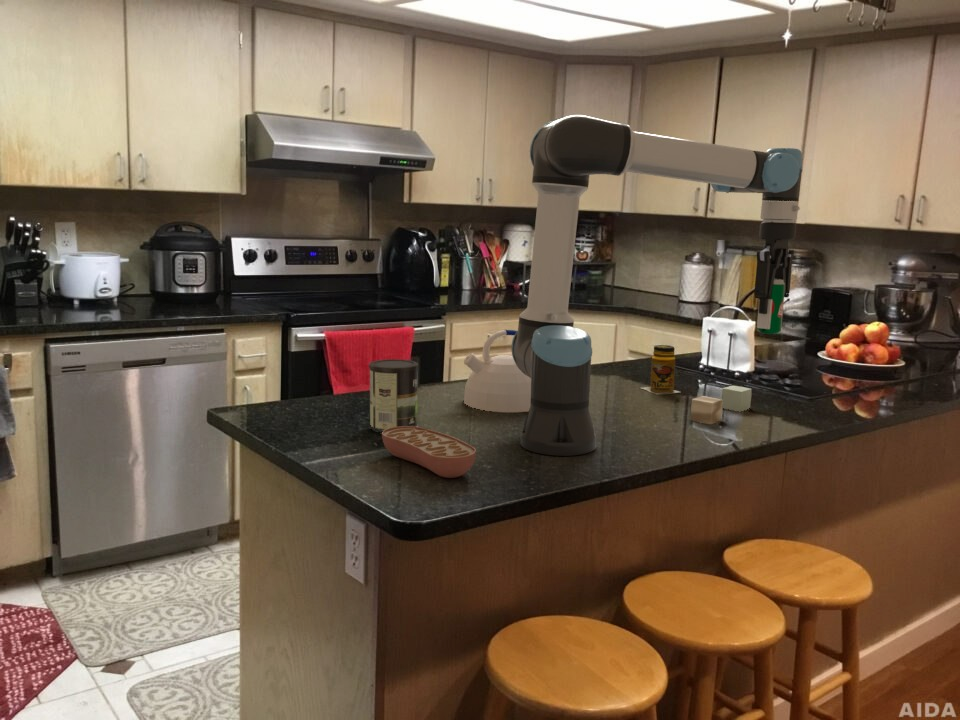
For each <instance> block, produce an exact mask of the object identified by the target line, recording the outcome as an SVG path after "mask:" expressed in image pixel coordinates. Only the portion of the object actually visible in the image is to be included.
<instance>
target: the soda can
mask: <svg viewBox="0 0 960 720" xmlns="http://www.w3.org/2000/svg"><path fill="white" fill-rule="evenodd" d="M784 293H785V283H784V279H778V278H774V283H773V288H772V293H771V298H770V299H772V311H771V322H770V329H762V328H757V327H756V328H757V329H756V330H757V331H758V332H759V333H760V334H765V335H766V334H767V335H778V334H780V333H781V331H782V327H781V326H782V325H783V324H782V323H783V316H782V315H783V314H784V305H783V304H785V303H784V302H785V297H784Z"/></svg>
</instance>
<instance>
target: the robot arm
mask: <svg viewBox="0 0 960 720" xmlns="http://www.w3.org/2000/svg"><path fill="white" fill-rule="evenodd" d="M529 158H530V160H531V165H532V166H533V168H532V180H531V185H532V186H533V188H534V189H535V191H536V192H537V194H538V195H537V204H536V213H535V214H536V216H535V224H534V236H533V245H532V246H533V247H532V257H531V265H530V275H529V276H530V278H529V284H528V286H529V289H528V295H527V297H528V298H527V307H526V308H525V309H524V310H522V312H521V313H520V314H519V318H518V326H517V330H516V331H517V332H516V334H515V335H513V338H512V341H511V348H510V349H511V355H512V356H513V359H514V361H515V363H516V365H517V367H518V368H519V369H520V370H521V371H522V372H523V373H524V374H525V375H527V376H528V377H530V378H531V401H530V409H529V412H527V415H526V417H525V420H524V423H523V427H522V429H521V431H520V443H519V444H520V446H521V447H522V448H524V449H525V450H527V451H530V452H532V453H537V454H541V455H547V456H556V457H557V456H559V457H560V456H563V457H564V456H565V457H566V456H567V457H569V456H580V455H586V454H589V453H591V452H593V451H595V450H596V447H597V435H596V433H595V429H594V425H593V420H592V417H591V413H590V408H589V407H590V391H591V389H590V388H591V370H592V365H591V364H592V356H593V347H592V338H591V336H590V334H588V332H587V331H585V330H584V329H581V328H578V327H575V328H574V323H575V319H573V317H572V315H571V314H570V313H569V304H570V303H569V301H570V294H571V283H572V276H573V275H572V273H573V264H574V254H575V245H576V236H577V227H578V226H577V225H578V219H579V218H578V217H579V209H580V208H579V207H580V198H581V196H582V195H583V194H584V193H585V192H587V191H588V189H589V183H590V175H591V176H592V175H608V176H609V175H610V176H618V177H620V176H622V175H623V174H624V173H635V174H641V175H648V176H654V177H655V176H656V177H661V178H669V179H676V180H682V181H683V180H684V181H688V182H689V181H691V182H696V183H703V184H710V186H711V187H712V189H713V190H714V191H715V192H719V193H720V192H721V193H726V194H729V193H734V194H735V193H742V194H743V193H744V194H745V193H746V194H750V193H751V194H754V193H755V194H761V195H762V196H761V206H760V208H761V209H760V217H759V219H760V220H762V222H760V224H759V231H758V232H759V233H758V237H759V239H760V240H764V241H765V242H764V244H763V249H762V250H757V251H756V270H755V273H756V274H755V283H754V290H753V291H754V292H753V293H754V294H753V295H754V299H758V311H757V323H756V328H762V329H770V322H771V311H772V299H770V298H771V293H772V288H773V283H774V278H778V279H784V283H785V293H784V298H789V296H790V289H791V280H792V269H793V268H792V267H793V258H794V256H795V255H794V254H795V250H794V249H789V241H794V240H795V239H796V235H797V234H796V233H797V224H796V222H794V221H797V219H798V212H799V210H800V209H801V208H800V206H799V198H800V190H801V179H802V173H803V153H802V151H801V150H800V149H798V148H794V147H791V148H790V147H785V148H784V147H780V148H779V147H777V148H776V147H773V148H768V149H767V150H766V151H760V150H759V151H758V150H751V149H747V148H740V147H734V146H727V145H721V144H716V143H710V142H702V141H696V140H691V139H683V138H679V137H678V138H676V137H672V136H671V137H670V136H665V135H659V134H651V133H645V132H638V131H634V130H633V129H632V127H631V126H630V125H629V124H625V123H620V122H619V123H618V122H613V121H609V120H605V119H601V118H596V117H592V116H587V115H583V114H573V115H567V116H565V117H562V118H560V119H559V118H558V119H554V120H550V121H549V122H547V123H546V124H544V125H542V127H541V128H540V129H538V130H537V132H536V133H535V135H533V138H532V140H531V143H530V148H529ZM784 304H785V303H784ZM784 304H783V306H784ZM782 317H783V315H782ZM781 328H782V326H781Z"/></svg>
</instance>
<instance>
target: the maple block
mask: <svg viewBox="0 0 960 720" xmlns="http://www.w3.org/2000/svg"><path fill="white" fill-rule="evenodd" d="M722 405H723V400H722V398H717V397H710V396H706V395H701V396H698V397H695V398H692V399H691V406H690V407H691V408H690V420H689V421H693V422H697V423H702V424H705V423H706V424H707V425H710V424H711V425H713V424H716V423H719V422H721V421H722V417H723V416H722V415H723V408H722ZM718 421H719V422H718Z"/></svg>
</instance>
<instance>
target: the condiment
mask: <svg viewBox="0 0 960 720" xmlns="http://www.w3.org/2000/svg"><path fill="white" fill-rule="evenodd" d="M650 368H651V369H650V381H649V382H650V385H649V386H647V387H640V389H642V390H645V391H647V392H649V393H652V394H655V395H671V394H677V393H680V391H679V390H675V373H676V357H675V347H674V346H672V345H668V344H667V345H666V344H658V345H655V346H653V355H652V357H651V365H650Z"/></svg>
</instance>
